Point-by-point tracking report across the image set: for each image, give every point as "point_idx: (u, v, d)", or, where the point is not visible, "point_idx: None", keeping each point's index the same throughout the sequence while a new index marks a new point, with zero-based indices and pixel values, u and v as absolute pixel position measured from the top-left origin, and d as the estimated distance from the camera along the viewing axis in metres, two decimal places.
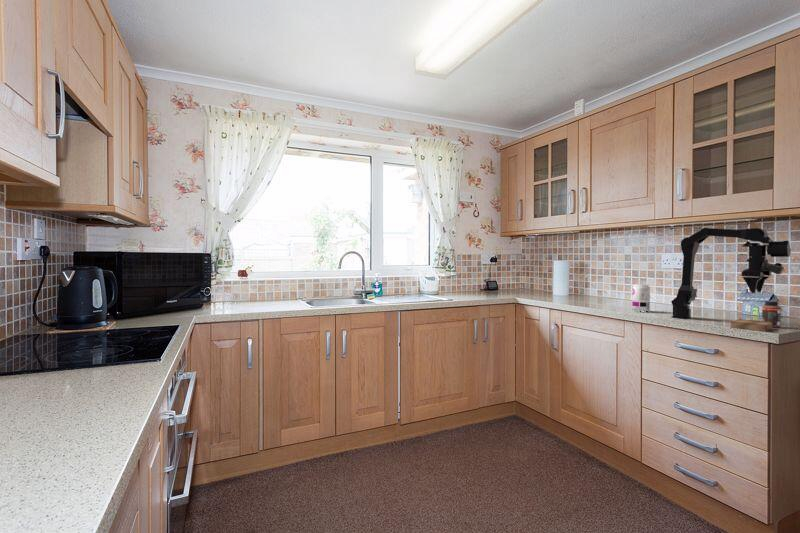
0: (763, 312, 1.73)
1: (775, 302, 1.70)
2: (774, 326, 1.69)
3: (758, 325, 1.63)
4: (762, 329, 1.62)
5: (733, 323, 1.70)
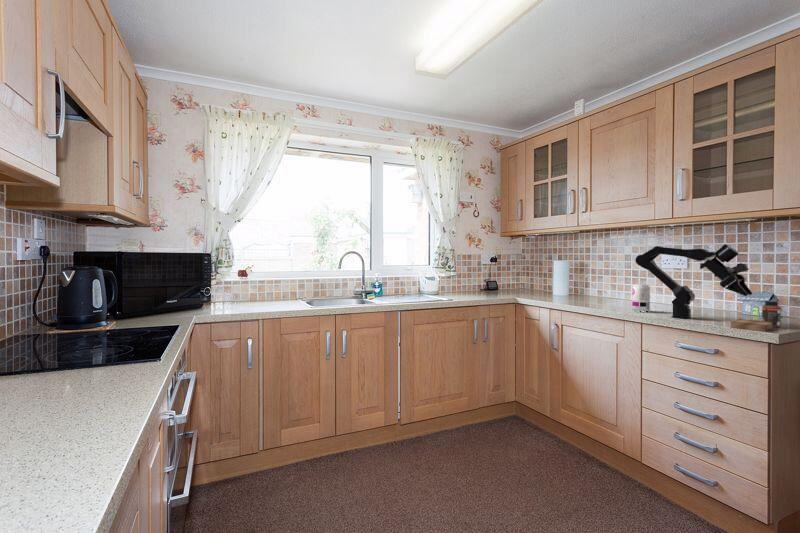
0: (763, 312, 1.73)
1: (775, 302, 1.70)
2: (774, 326, 1.69)
3: (758, 325, 1.63)
4: (762, 329, 1.62)
5: (733, 323, 1.70)
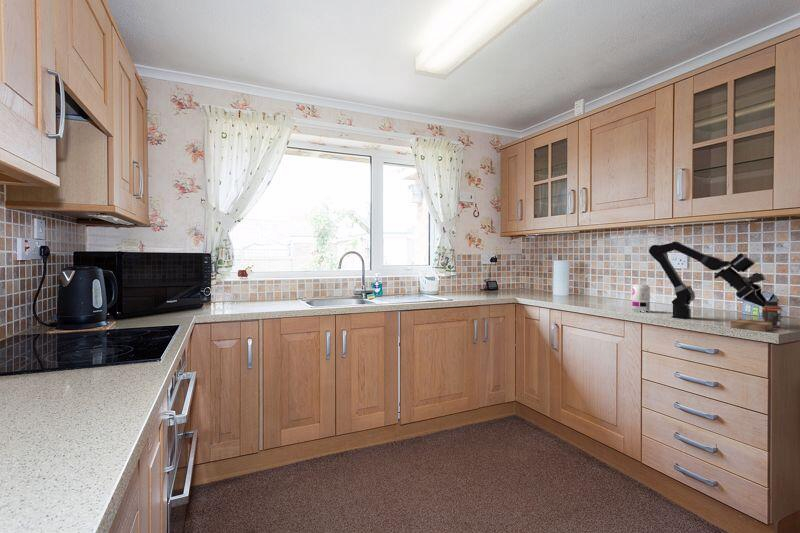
0: (763, 312, 1.73)
1: (775, 302, 1.70)
2: (774, 326, 1.69)
3: (758, 325, 1.63)
4: (762, 329, 1.62)
5: (733, 323, 1.70)
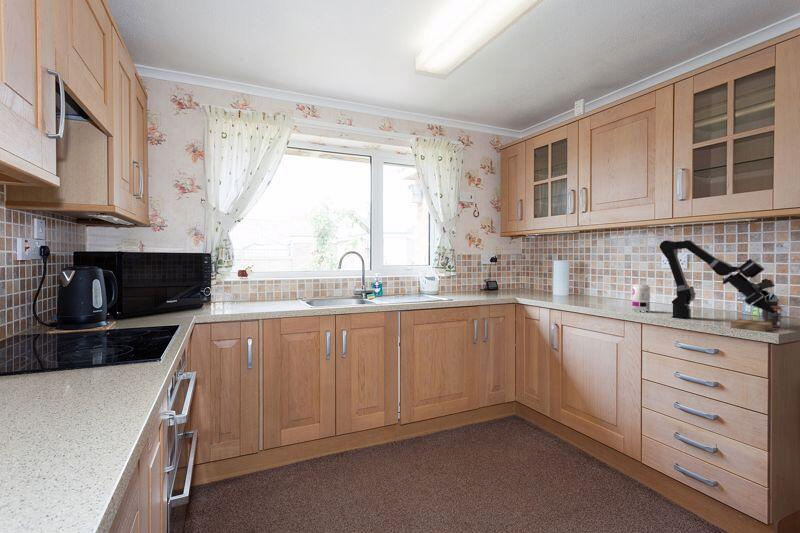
0: (763, 312, 1.73)
1: (775, 302, 1.70)
2: (774, 326, 1.69)
3: (758, 325, 1.63)
4: (762, 329, 1.62)
5: (733, 323, 1.70)
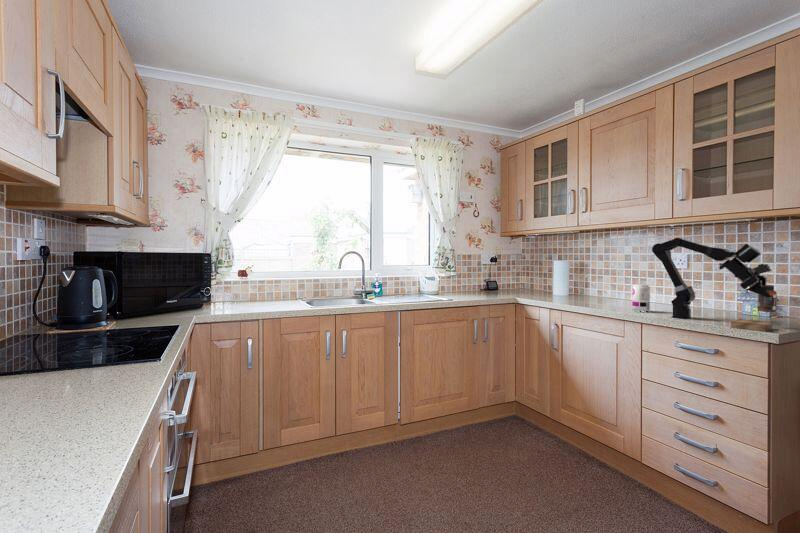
0: (759, 297, 1.73)
1: (771, 287, 1.70)
2: (769, 310, 1.70)
3: (758, 325, 1.63)
4: (762, 329, 1.62)
5: (733, 323, 1.70)
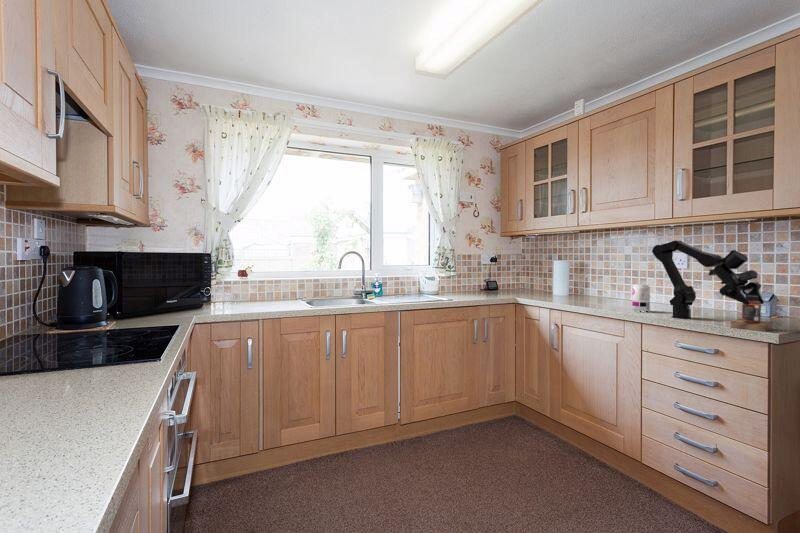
0: (742, 307, 1.70)
1: (753, 297, 1.67)
2: (751, 321, 1.67)
3: (758, 325, 1.63)
4: (762, 329, 1.62)
5: (733, 323, 1.70)
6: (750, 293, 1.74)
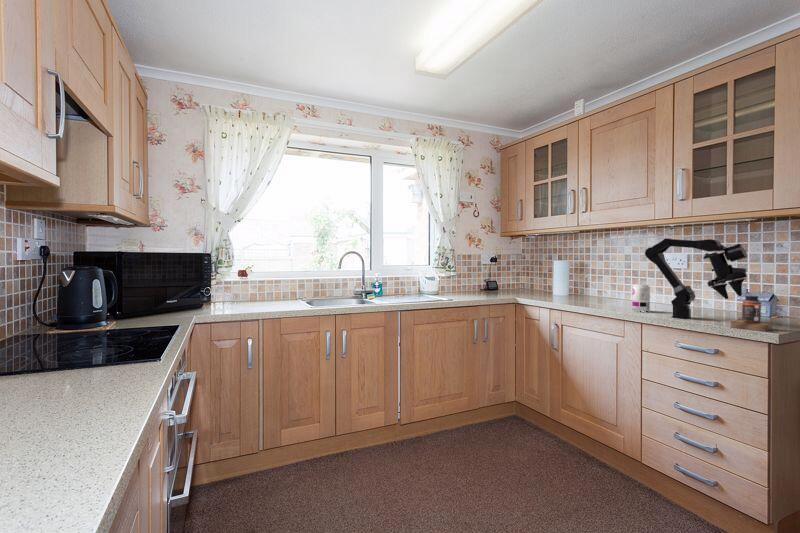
0: (742, 307, 1.70)
1: (753, 297, 1.67)
2: (751, 321, 1.67)
3: (758, 325, 1.63)
4: (762, 329, 1.62)
5: (733, 323, 1.70)
6: (719, 286, 1.87)
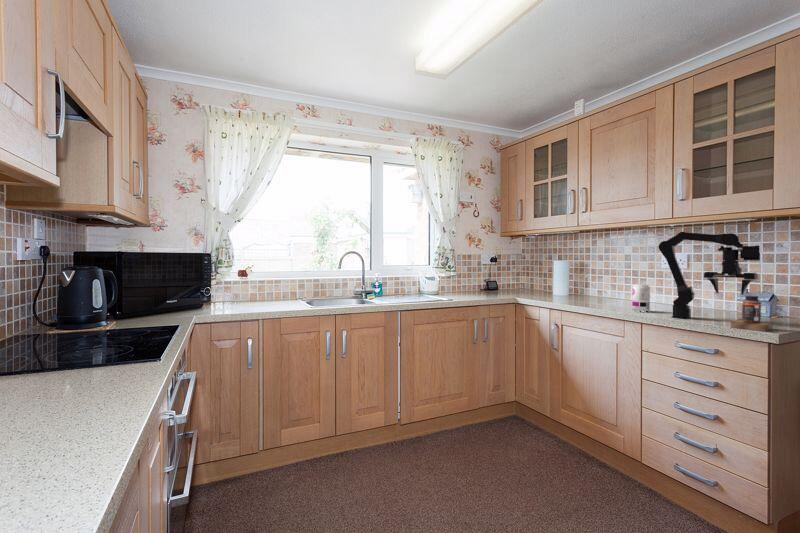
0: (742, 307, 1.70)
1: (753, 297, 1.67)
2: (751, 321, 1.67)
3: (758, 325, 1.63)
4: (762, 329, 1.62)
5: (733, 323, 1.70)
6: (715, 280, 1.89)
